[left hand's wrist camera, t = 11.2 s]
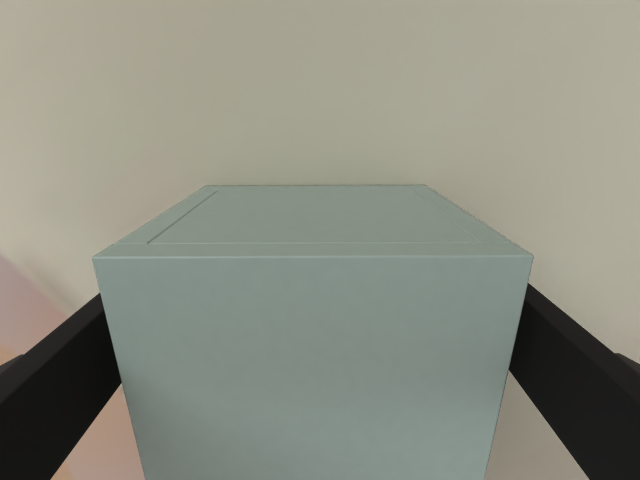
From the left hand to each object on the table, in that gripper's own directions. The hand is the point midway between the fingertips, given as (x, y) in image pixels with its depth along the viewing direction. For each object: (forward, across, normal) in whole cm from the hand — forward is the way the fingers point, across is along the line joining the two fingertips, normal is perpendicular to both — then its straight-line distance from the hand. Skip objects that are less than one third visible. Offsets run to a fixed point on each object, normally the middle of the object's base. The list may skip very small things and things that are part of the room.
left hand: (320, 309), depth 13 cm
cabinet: (+5, 0, -7) cm, 8 cm away
